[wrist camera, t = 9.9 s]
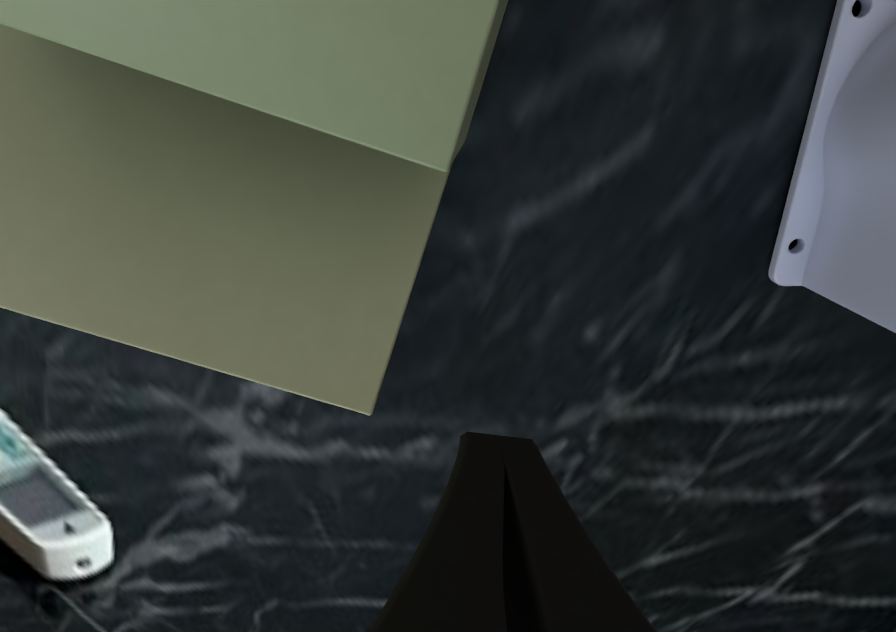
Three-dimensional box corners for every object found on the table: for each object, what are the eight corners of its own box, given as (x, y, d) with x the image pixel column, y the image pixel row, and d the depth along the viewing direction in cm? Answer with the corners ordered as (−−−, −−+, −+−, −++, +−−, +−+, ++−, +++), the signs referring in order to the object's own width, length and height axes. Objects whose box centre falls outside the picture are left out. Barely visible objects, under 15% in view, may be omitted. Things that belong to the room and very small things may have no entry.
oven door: (435, 224, 20) (374, 415, 18) (108, 117, 19) (3, 306, 17) (453, 157, 15) (370, 415, 13) (4, 5, 14) (-169, 258, 12)
